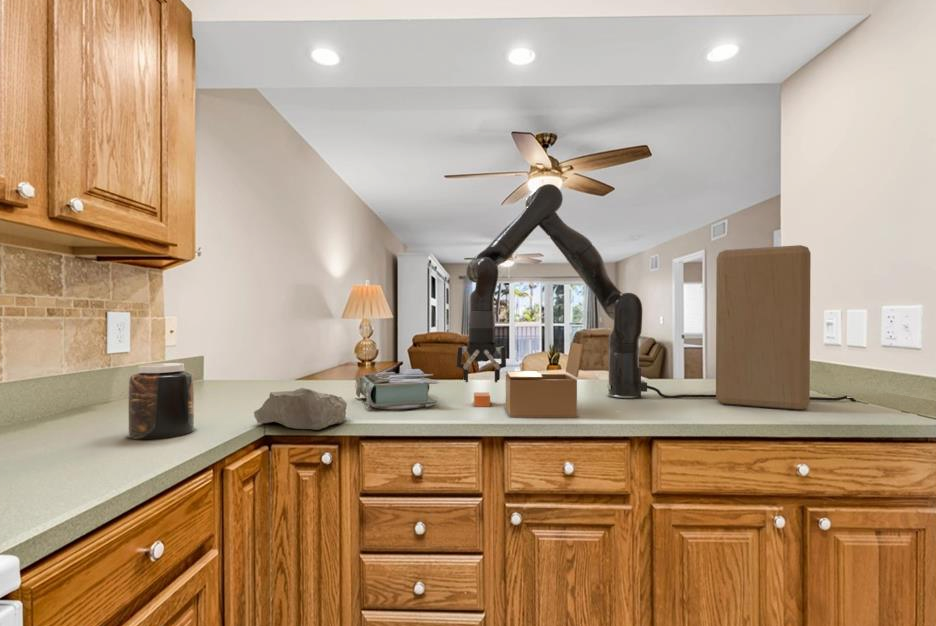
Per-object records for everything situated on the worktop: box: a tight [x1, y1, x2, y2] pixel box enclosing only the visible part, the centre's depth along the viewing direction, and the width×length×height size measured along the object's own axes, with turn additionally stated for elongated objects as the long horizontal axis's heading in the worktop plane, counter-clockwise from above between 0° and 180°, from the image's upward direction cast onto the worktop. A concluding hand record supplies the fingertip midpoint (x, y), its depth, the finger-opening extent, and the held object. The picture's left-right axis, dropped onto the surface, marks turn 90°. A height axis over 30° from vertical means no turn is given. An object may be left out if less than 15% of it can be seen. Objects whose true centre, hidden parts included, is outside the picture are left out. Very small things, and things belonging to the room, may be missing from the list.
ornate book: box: [354, 368, 446, 410], centre depth 144 cm, size 23×10×30 cm
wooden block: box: [715, 244, 812, 411], centre depth 144 cm, size 22×22×45 cm
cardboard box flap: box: [565, 341, 584, 378], centre depth 129 cm, size 8×13×1 cm
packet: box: [473, 391, 491, 408], centre depth 141 cm, size 7×4×3 cm, turn 0°
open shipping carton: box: [505, 370, 578, 418], centre depth 129 cm, size 17×13×10 cm
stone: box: [253, 387, 348, 431], centre depth 115 cm, size 18×10×20 cm
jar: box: [128, 362, 195, 441], centre depth 105 cm, size 12×12×15 cm
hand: (481, 382), depth 141 cm, fingers open, 8 cm apart
